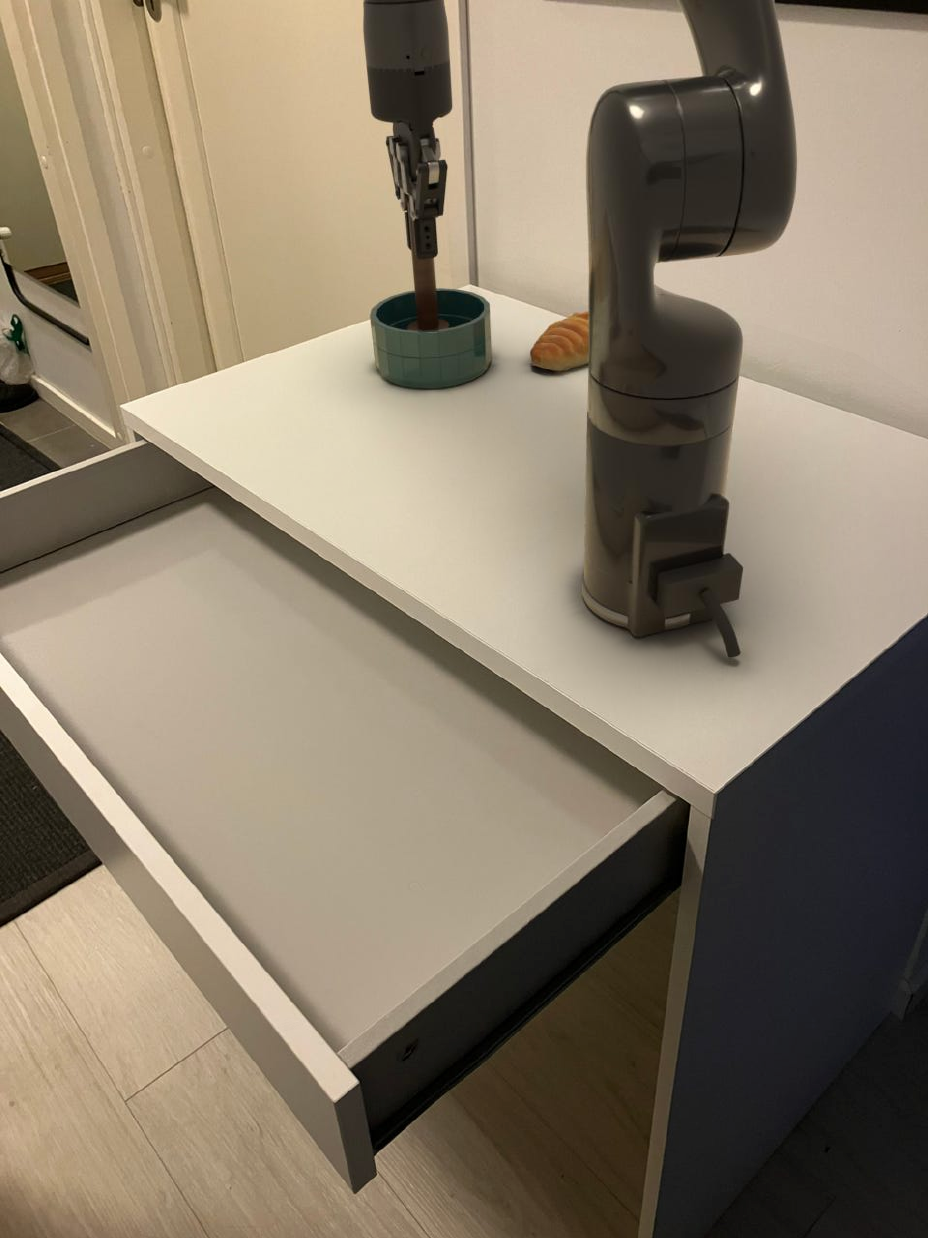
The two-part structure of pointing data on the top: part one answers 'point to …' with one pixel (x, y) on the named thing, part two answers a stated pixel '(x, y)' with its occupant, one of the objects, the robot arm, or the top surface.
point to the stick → (424, 290)
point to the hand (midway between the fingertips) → (422, 252)
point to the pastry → (563, 344)
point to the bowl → (432, 340)
